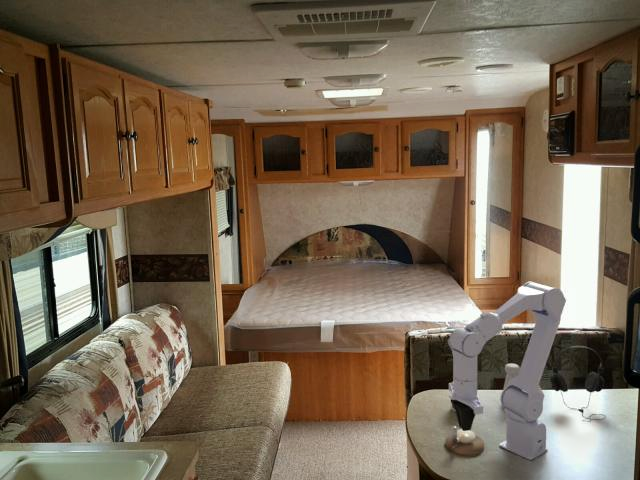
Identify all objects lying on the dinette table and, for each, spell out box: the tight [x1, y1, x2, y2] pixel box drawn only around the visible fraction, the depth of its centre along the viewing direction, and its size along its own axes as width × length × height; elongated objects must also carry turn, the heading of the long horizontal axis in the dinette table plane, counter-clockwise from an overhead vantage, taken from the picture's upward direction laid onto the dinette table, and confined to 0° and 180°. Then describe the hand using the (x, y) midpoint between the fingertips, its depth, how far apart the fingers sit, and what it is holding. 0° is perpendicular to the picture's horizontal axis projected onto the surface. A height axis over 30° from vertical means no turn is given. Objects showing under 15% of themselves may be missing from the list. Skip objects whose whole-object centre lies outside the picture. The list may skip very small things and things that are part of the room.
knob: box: [451, 425, 477, 444], centre depth 145 cm, size 8×6×4 cm
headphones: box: [549, 345, 606, 422], centre depth 161 cm, size 15×11×20 cm
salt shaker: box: [502, 362, 521, 391], centre depth 168 cm, size 6×6×13 cm
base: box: [445, 433, 485, 457], centre depth 146 cm, size 10×10×2 cm
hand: (465, 428), depth 137 cm, fingers closed
